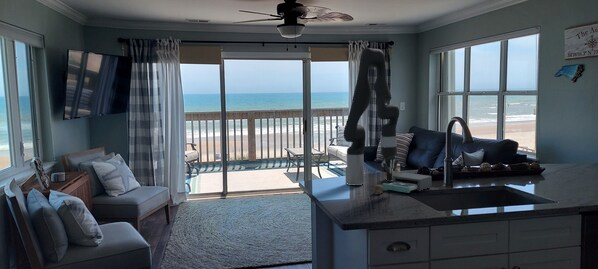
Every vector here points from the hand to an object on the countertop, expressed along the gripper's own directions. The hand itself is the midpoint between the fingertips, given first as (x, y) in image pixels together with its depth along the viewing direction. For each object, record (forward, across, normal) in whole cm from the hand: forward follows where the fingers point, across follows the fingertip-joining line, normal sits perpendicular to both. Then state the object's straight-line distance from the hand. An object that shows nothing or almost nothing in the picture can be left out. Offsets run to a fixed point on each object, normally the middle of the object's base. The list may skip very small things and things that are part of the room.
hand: (389, 180), depth 206 cm
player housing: (+7, -22, 0) cm, 23 cm away
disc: (+5, -11, 0) cm, 13 cm away
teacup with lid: (+7, -32, -17) cm, 37 cm away
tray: (+6, -12, -1) cm, 13 cm away
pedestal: (+7, +2, -6) cm, 9 cm away
